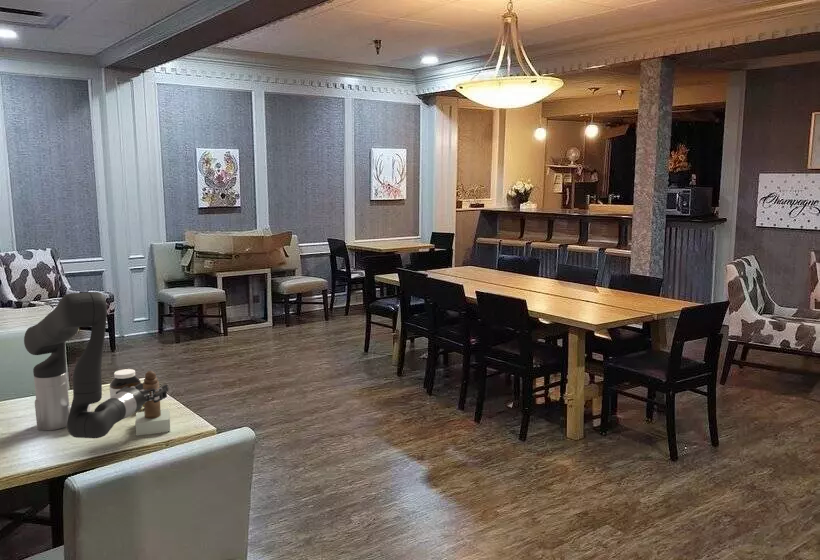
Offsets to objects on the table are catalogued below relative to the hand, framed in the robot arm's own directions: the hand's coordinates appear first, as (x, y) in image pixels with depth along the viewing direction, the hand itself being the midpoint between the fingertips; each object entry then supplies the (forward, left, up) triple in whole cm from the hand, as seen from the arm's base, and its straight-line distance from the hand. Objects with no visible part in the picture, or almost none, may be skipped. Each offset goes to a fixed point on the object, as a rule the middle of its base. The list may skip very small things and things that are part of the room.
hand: (154, 386), depth 215 cm
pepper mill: (-1, -2, -9) cm, 9 cm away
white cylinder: (-23, +8, -13) cm, 28 cm away
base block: (-1, -2, -13) cm, 13 cm away
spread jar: (-10, +27, -13) cm, 32 cm away
